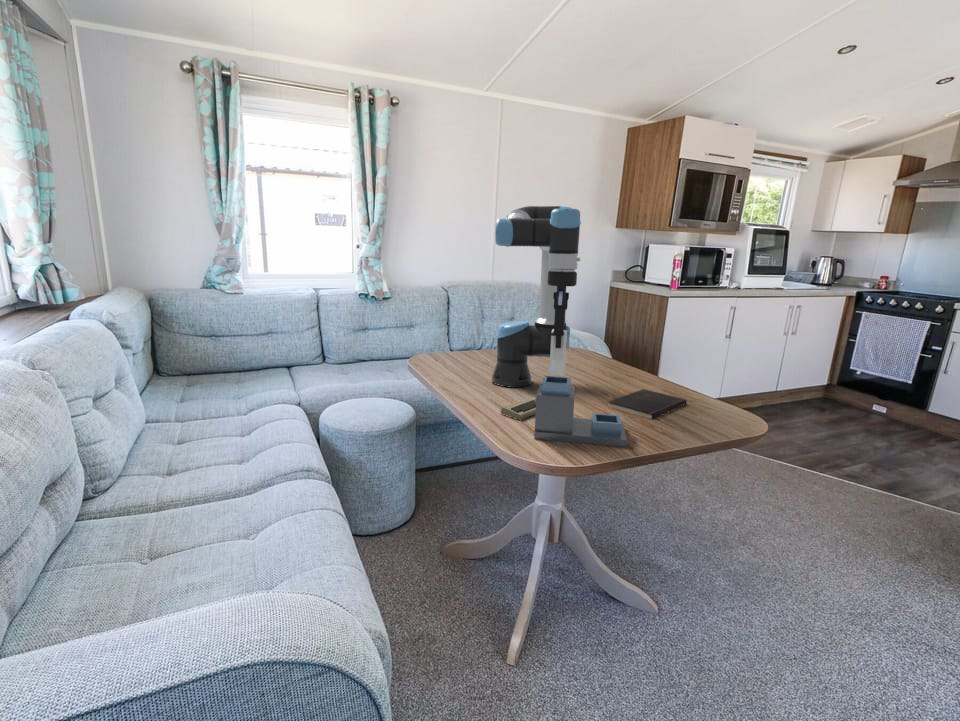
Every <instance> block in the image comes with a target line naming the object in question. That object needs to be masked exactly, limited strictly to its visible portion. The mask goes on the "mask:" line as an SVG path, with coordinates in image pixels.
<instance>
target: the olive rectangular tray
mask: <svg viewBox="0 0 960 721" xmlns="http://www.w3.org/2000/svg"><path fill="white" fill-rule="evenodd" d="M500 410H501V411H500V414H501V413H502V414H505V415H508V416H511V417H513V418H516V419H515V420H517V419H520V420H521V421H523V420H525V419H524V418H526V419H528V418H530V417H529V416H531V417H533V416H535V413H536V396H535V397H534V396H530V397H527V398H524V399H522V400H521V399H520V400H518V401H516V402H513V403H510V404H509V405H508V404H507V405H505V406H503V407H501V409H500ZM532 415H533V416H532ZM527 417H528V418H527ZM513 418H512V419H513ZM522 419H523V420H522ZM520 420H519V421H520Z"/></svg>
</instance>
